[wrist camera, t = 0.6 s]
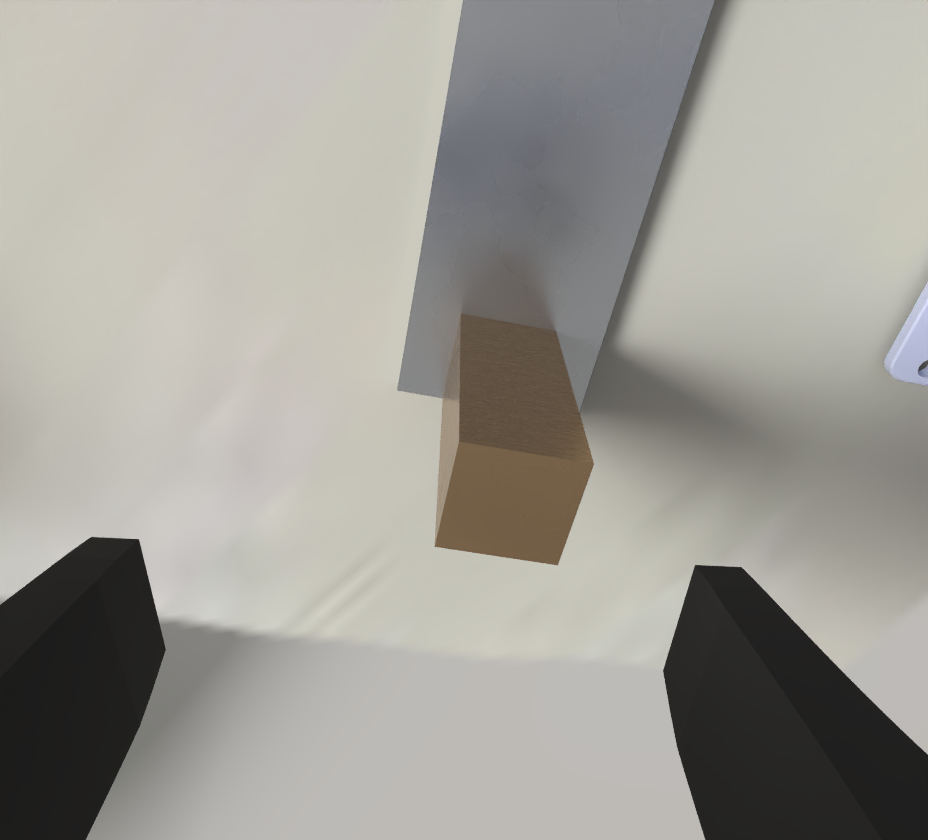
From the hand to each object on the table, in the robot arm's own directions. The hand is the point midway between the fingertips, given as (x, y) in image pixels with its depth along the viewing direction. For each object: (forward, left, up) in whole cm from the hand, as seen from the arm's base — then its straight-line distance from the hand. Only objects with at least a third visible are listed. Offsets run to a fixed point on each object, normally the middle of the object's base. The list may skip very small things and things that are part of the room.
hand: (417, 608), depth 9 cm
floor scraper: (-2, -6, -11) cm, 12 cm away
